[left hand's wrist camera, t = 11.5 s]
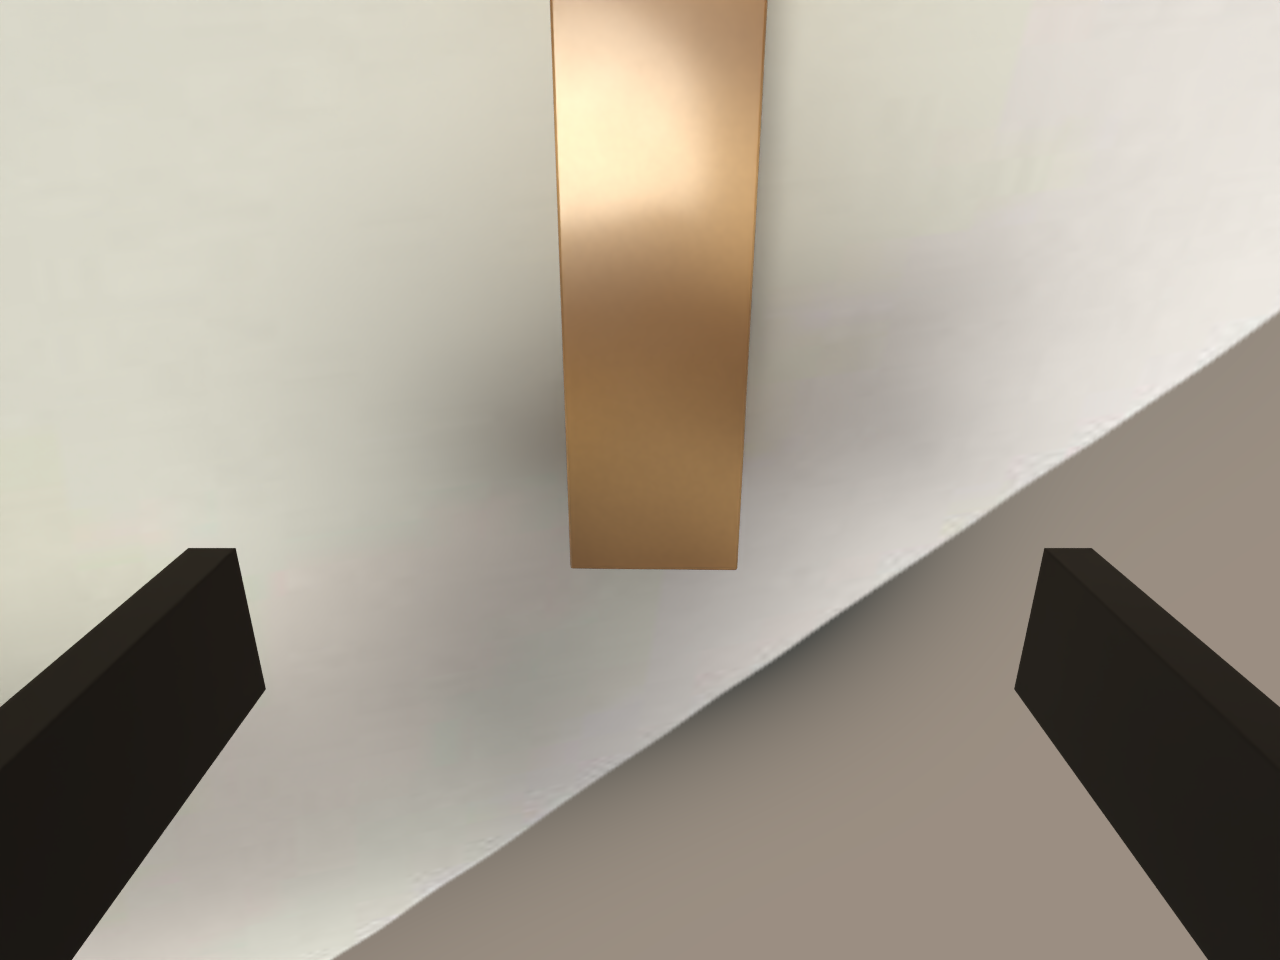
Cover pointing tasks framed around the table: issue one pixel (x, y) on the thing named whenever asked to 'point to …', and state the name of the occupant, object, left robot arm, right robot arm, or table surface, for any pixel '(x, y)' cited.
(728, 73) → the bar
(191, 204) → the table surface
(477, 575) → the table surface
